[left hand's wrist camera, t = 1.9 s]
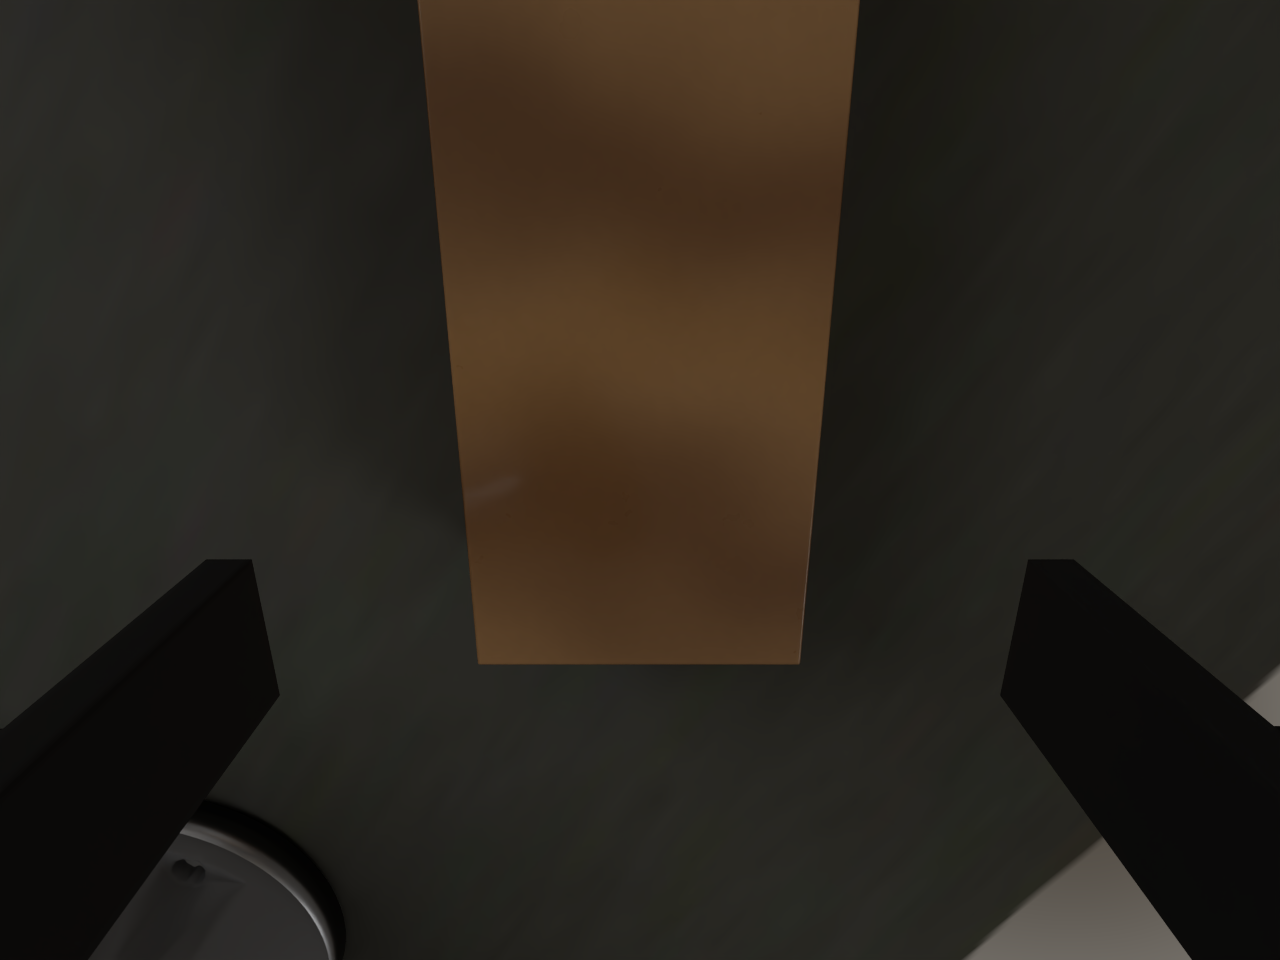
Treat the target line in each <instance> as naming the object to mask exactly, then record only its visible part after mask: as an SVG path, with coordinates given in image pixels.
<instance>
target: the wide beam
mask: <svg viewBox="0 0 1280 960" xmlns="http://www.w3.org/2000/svg"><path fill="white" fill-rule="evenodd" d="M417 1H418V12H419V23H420V33H421V44H422V55H423V66H424V77H425V88H426V99H427V110H428V121H429V132H430V143H431V154H432V165H433V176H434V187H435V198H436V208H437V219H438V230H439V241H440V252H441V263H442V274H443V285H444V296H445V307H446V318H447V329H448V340H449V351H450V362H451V373H452V383H453V394H454V405H455V416H456V427H457V438H458V449H459V460H460V471H461V482H462V493H463V504H464V515H465V526H466V537H467V548H468V558H469V569H470V580H471V591H472V602H473V613H474V624H475V635H476V646H477V657H478V663H479V664H800V658H801V647H802V636H803V625H804V614H805V603H806V592H807V581H808V569H809V558H810V547H811V536H812V525H813V514H814V503H815V492H816V481H817V470H818V459H819V448H820V437H821V426H822V414H823V403H824V392H825V381H826V370H827V359H828V348H829V337H830V326H831V315H832V304H833V293H834V282H835V270H836V259H837V248H838V237H839V226H840V215H841V204H842V193H843V182H844V171H845V160H846V149H847V138H848V127H849V115H850V104H851V93H852V82H853V71H854V60H855V49H856V38H857V27H858V16H859V5H860V0H417Z"/></svg>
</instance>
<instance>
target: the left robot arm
mask: <svg viewBox="0 0 1280 960" xmlns="http://www.w3.org/2000/svg"><path fill="white" fill-rule="evenodd" d="M279 696H280V694H279V689H278V684H277V680H276V675H275V670H274V665H273V660H272V655H271V651H270V646H269V641H268V636H267V631H266V626H265V622H264V617H263V612H262V607H261V602H260V597H259V593H258V588H257V583H256V578H255V573H254V568H253V564H252V560H205V561H204V562H203V563H202V564H200V565H199V566H198V567H197V568H196V569H194V570H193V571H192V572H191V573H190V574H188V575H187V576H186V577H185V578H184V579H182V580H181V581H180V582H179V583H178V584H176V585H175V586H174V587H173V588H172V589H170V590H169V591H168V592H167V593H166V594H164V595H163V596H162V597H161V598H160V599H158V600H157V601H156V602H155V603H154V604H152V605H151V606H150V607H149V608H148V609H146V610H145V611H144V612H143V613H142V614H140V615H139V616H138V617H137V618H136V619H134V620H133V621H132V622H131V623H130V624H128V625H127V626H126V627H125V628H124V629H122V630H121V631H120V632H119V633H118V634H116V635H115V636H114V637H113V638H112V639H110V640H109V641H108V642H107V643H106V644H104V645H103V646H102V647H101V648H100V649H98V650H97V651H96V652H95V653H94V654H92V655H91V656H90V657H89V658H88V659H86V660H85V661H84V662H83V663H82V664H80V665H79V666H78V667H77V668H76V669H74V670H73V671H72V672H71V673H70V674H68V675H67V676H66V677H65V678H64V679H62V680H61V681H60V682H59V683H58V684H56V685H55V686H54V687H53V688H52V689H50V690H49V691H48V692H47V693H46V694H44V695H43V696H42V697H41V698H40V699H38V700H37V701H36V702H35V703H34V704H32V705H31V706H30V707H29V708H28V709H26V710H25V711H24V712H23V713H22V714H20V715H19V716H18V717H17V718H16V719H14V720H13V721H12V722H11V723H10V724H8V725H7V726H6V727H5V728H4V729H0V960H342V959H343V955H344V951H345V943H346V931H345V924H344V918H343V914H342V911H341V907H340V905H339V903H338V900H337V898H336V895H335V894H334V892H333V890H332V888H331V887H330V885H329V883H328V882H327V880H326V879H325V878H324V876H323V875H322V873H321V872H320V871H319V870H318V868H317V867H316V866H315V865H314V864H313V863H312V862H311V861H310V860H309V859H308V858H307V857H306V856H305V855H304V854H303V853H302V852H301V851H300V850H299V849H298V848H296V847H295V846H294V845H293V844H291V843H290V842H289V841H288V840H286V839H285V838H283V837H282V836H280V835H279V834H278V833H276V832H275V831H273V830H271V829H270V828H268V827H266V826H264V825H263V824H261V823H259V822H257V821H255V820H253V819H251V818H249V817H247V816H245V815H243V814H240V813H238V812H235V811H233V810H230V809H228V808H225V807H222V806H219V805H216V804H212V803H209V802H205V801H203V800H204V799H205V798H206V796H207V795H208V794H209V792H210V791H211V789H212V788H213V787H214V785H215V784H216V783H217V781H218V780H219V778H220V777H221V776H222V774H223V773H224V772H225V770H226V769H227V767H228V766H229V765H230V763H231V762H232V760H233V759H234V758H235V756H236V755H237V754H238V752H239V751H240V749H241V748H242V747H243V745H244V744H245V743H246V741H247V740H248V738H249V737H250V736H251V734H252V733H253V731H254V730H255V729H256V727H257V726H258V725H259V723H260V722H261V720H262V719H263V718H264V716H265V715H266V714H267V712H268V711H269V709H270V708H271V707H272V705H273V704H274V703H275V701H276V700H277V698H278V697H279ZM1000 696H1001V697H1002V698H1003V700H1004V701H1005V703H1006V704H1007V705H1008V707H1009V708H1010V709H1011V711H1012V712H1013V714H1014V715H1015V716H1016V718H1017V719H1018V720H1019V722H1020V723H1021V725H1022V726H1023V727H1024V729H1025V730H1026V731H1027V733H1028V734H1029V736H1030V737H1031V738H1032V740H1033V741H1034V743H1035V744H1036V745H1037V747H1038V748H1039V749H1040V751H1041V752H1042V754H1043V755H1044V756H1045V758H1046V759H1047V760H1048V762H1049V763H1050V765H1051V766H1052V767H1053V769H1054V770H1055V772H1056V773H1057V774H1058V776H1059V777H1060V778H1061V780H1062V781H1063V783H1064V784H1065V785H1066V787H1067V788H1068V789H1069V791H1070V792H1071V794H1072V795H1073V796H1074V798H1075V799H1076V800H1077V802H1078V803H1079V805H1080V806H1081V807H1082V809H1083V810H1084V812H1085V813H1086V814H1087V816H1088V817H1089V818H1090V820H1091V821H1092V823H1093V824H1094V825H1095V827H1096V828H1097V829H1098V831H1099V832H1100V834H1101V835H1102V836H1103V838H1104V839H1105V840H1106V842H1107V843H1108V845H1109V846H1110V847H1111V849H1112V850H1113V851H1114V853H1115V854H1116V856H1117V857H1118V858H1119V860H1120V861H1121V862H1122V864H1123V865H1124V867H1125V868H1126V869H1127V871H1128V872H1129V874H1130V875H1131V876H1132V878H1133V879H1134V880H1135V882H1136V883H1137V885H1138V886H1139V887H1140V889H1141V890H1142V892H1143V893H1144V894H1145V896H1146V897H1147V898H1148V900H1149V901H1150V902H1151V904H1152V905H1153V907H1154V908H1155V909H1156V911H1157V912H1158V914H1159V915H1160V916H1161V918H1162V919H1163V921H1164V922H1165V923H1166V925H1167V926H1168V927H1169V929H1170V930H1171V932H1172V933H1173V934H1174V936H1175V937H1176V938H1177V940H1178V941H1179V943H1180V944H1181V945H1182V947H1183V948H1184V949H1185V951H1186V952H1187V954H1188V955H1189V956H1190V958H1191V959H1192V960H1280V726H1273V725H1272V724H1270V723H1269V722H1268V721H1267V720H1266V719H1264V718H1263V717H1262V716H1261V715H1260V714H1258V713H1257V712H1256V711H1255V710H1254V709H1252V708H1251V707H1250V706H1249V705H1248V704H1246V703H1245V702H1244V701H1243V700H1242V699H1240V698H1239V697H1238V696H1237V695H1236V694H1234V693H1233V692H1232V691H1231V690H1230V689H1228V688H1227V687H1226V686H1225V685H1224V684H1222V683H1221V682H1220V681H1219V680H1218V679H1216V678H1215V677H1214V676H1213V675H1212V674H1210V673H1209V672H1208V671H1207V670H1206V669H1204V668H1203V667H1202V666H1201V665H1200V664H1198V663H1197V662H1196V661H1195V660H1194V659H1192V658H1191V657H1190V656H1189V655H1188V654H1186V653H1185V652H1184V651H1183V650H1182V649H1180V648H1179V647H1178V646H1177V645H1176V644H1174V643H1173V642H1172V641H1171V640H1170V639H1168V638H1167V637H1166V636H1165V635H1164V634H1162V633H1161V632H1160V631H1159V630H1158V629H1156V628H1155V627H1154V626H1153V625H1152V624H1150V623H1149V622H1148V621H1147V620H1146V619H1144V618H1143V617H1142V616H1141V615H1140V614H1138V613H1137V612H1136V611H1135V610H1134V609H1132V608H1131V607H1130V606H1129V605H1128V604H1126V603H1125V602H1124V601H1123V600H1122V599H1120V598H1119V597H1118V596H1117V595H1116V594H1114V593H1113V592H1112V591H1111V590H1110V589H1108V588H1107V587H1106V586H1105V585H1104V584H1102V583H1101V582H1100V581H1099V580H1098V579H1096V578H1095V577H1094V576H1093V575H1092V574H1090V573H1089V572H1088V571H1087V570H1086V569H1084V568H1083V567H1082V566H1081V565H1080V564H1078V563H1077V562H1076V561H1075V560H1028V564H1027V568H1026V573H1025V578H1024V583H1023V588H1022V593H1021V597H1020V602H1019V607H1018V612H1017V617H1016V622H1015V626H1014V631H1013V636H1012V641H1011V646H1010V651H1009V655H1008V660H1007V665H1006V670H1005V675H1004V680H1003V684H1002V689H1001V694H1000Z"/></svg>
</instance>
